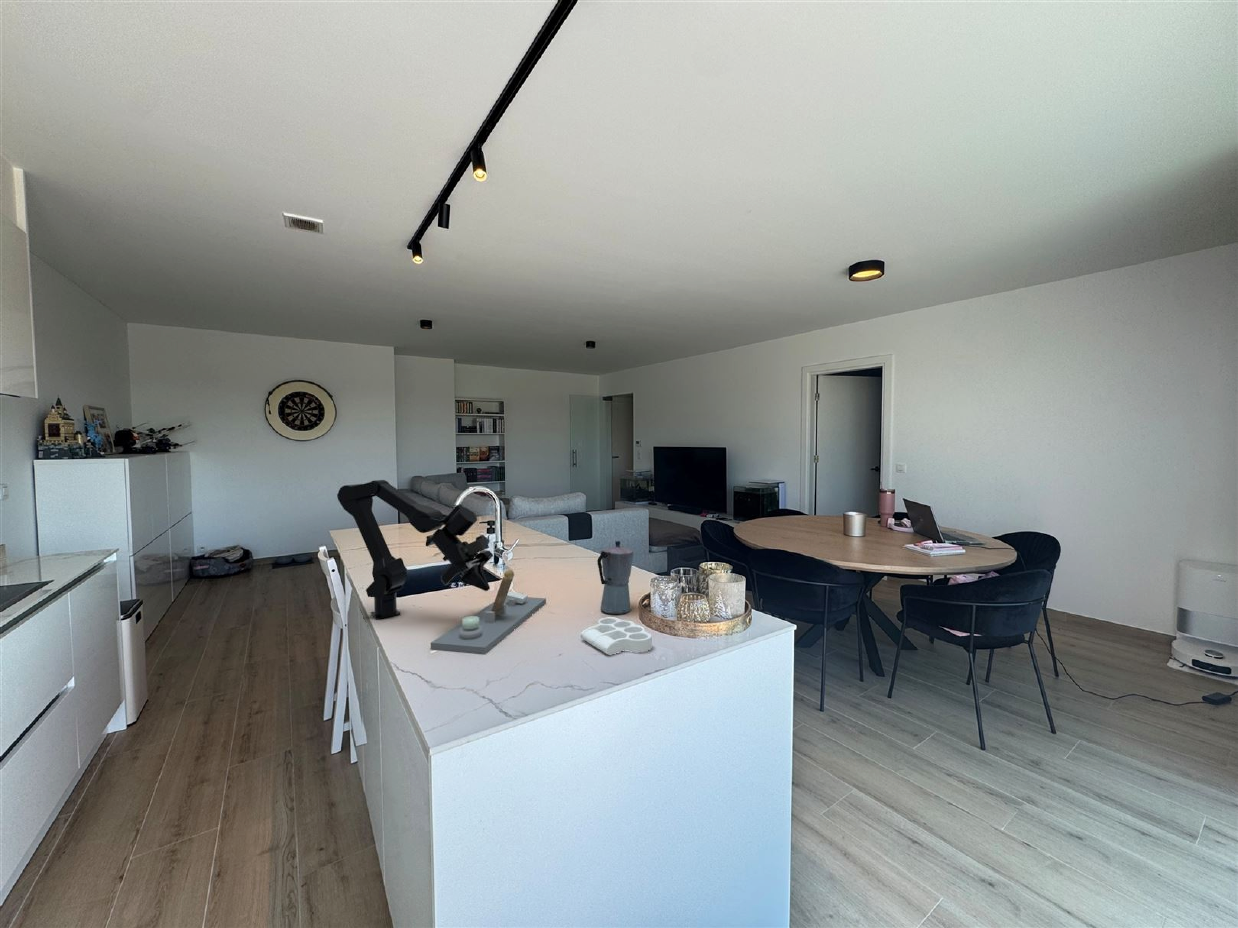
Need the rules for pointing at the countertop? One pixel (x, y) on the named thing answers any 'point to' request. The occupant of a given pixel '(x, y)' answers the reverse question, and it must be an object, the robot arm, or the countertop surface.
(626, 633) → the white compartment tray
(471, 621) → the sage button
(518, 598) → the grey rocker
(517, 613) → the switch panel
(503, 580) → the walnut lever
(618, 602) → the moka pot
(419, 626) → the countertop surface
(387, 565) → the robot arm
